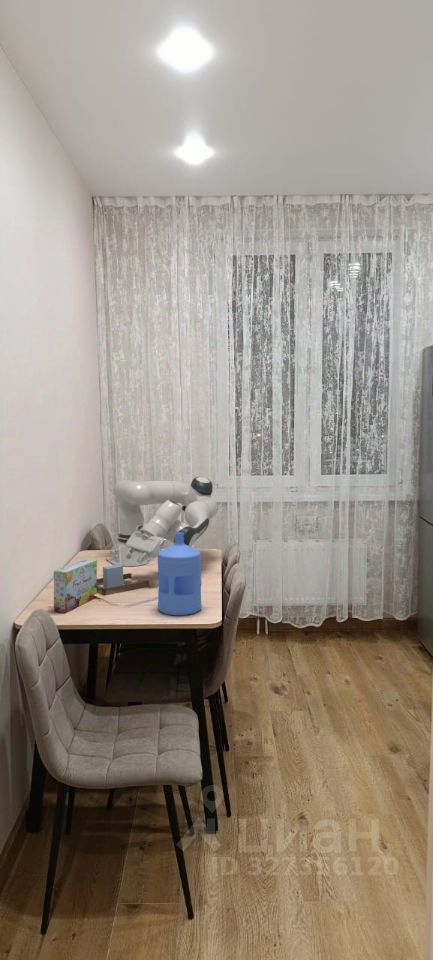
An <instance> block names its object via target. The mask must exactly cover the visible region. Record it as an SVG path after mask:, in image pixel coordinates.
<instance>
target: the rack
mask: <svg viewBox="0 0 433 960" xmlns="http://www.w3.org/2000/svg"><path fill="white" fill-rule="evenodd" d="M128 578H130V579H134V580H136V579H135V578H132V573H131V572H128V573H123V580H125V579H128ZM150 587H152V586H151V585H150V580H149V579H147V580H141V581H139V582H135V583H130V584H123V585H119V586H113V587H108V588H104V587H103V577H100V578H97V594H99V595H102V596H110V595H114V594H119V593H124V592H129V591H130V592H131V591H135V590H140V589H141V590H142V589H145V588H150ZM101 599H102V600H104V598H101Z"/></svg>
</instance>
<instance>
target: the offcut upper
mask: <svg viewBox="0 0 433 960" xmlns="http://www.w3.org/2000/svg"><path fill="white" fill-rule="evenodd" d="M134 579H135V578H132V579H130V578H128V579H125V580H123V585H124V584H130V583H135V582H140V580H137V579H135V580H134Z"/></svg>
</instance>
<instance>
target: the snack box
mask: <svg viewBox="0 0 433 960" xmlns="http://www.w3.org/2000/svg"><path fill="white" fill-rule="evenodd" d="M97 567H98V560H97V559H91V558H84V559H81V560H79V561H76V562H74V563H71V564H68V565H65V566H63V567H60V568H58V569H55V570H53V612H57V613H62V614H67V613H69V612H70V611H72V610H74V609H76V608H79V607H80V606H82V605H84V604H86V603H89V602H91V601H93V600H94V599H97V597H98V596H97V594H98V593H97V579H98V578H97V577H98V571H97V570H98V569H97Z"/></svg>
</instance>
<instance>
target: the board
mask: <svg viewBox="0 0 433 960" xmlns="http://www.w3.org/2000/svg"><path fill="white" fill-rule="evenodd" d="M123 574H124V566H121V565H113V564H112V565H109V566H108V565H107V566H103V567H102V578H103V585H102V587H104V588H108V587H113V586H119V585H124V584H123Z"/></svg>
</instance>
